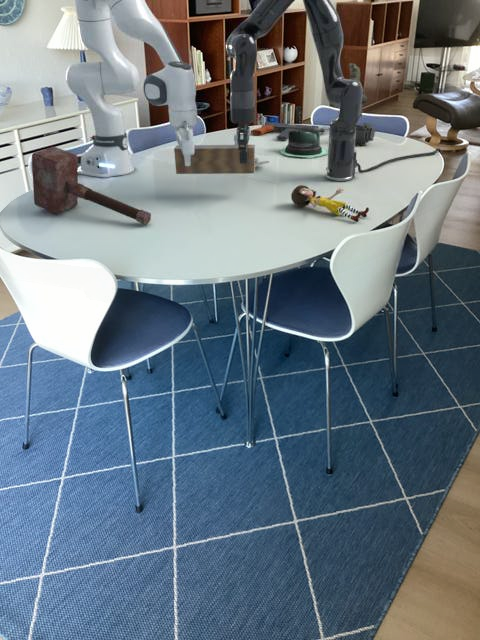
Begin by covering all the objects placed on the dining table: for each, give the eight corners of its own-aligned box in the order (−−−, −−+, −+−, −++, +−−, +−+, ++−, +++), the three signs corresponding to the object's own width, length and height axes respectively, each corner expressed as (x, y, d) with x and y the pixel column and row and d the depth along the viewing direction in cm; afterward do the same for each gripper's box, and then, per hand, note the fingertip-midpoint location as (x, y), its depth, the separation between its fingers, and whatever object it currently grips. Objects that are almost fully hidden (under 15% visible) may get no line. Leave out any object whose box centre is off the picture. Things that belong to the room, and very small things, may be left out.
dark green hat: (332, 145, 241) (326, 158, 224) (294, 164, 249) (286, 177, 233) (317, 113, 235) (310, 124, 219) (279, 133, 244) (269, 145, 228)
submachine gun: (244, 131, 261) (267, 121, 279) (244, 137, 262) (267, 127, 281) (306, 137, 247) (327, 126, 266) (306, 143, 248) (326, 132, 267)
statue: (367, 132, 266) (374, 63, 251) (349, 133, 264) (355, 64, 249) (357, 127, 275) (362, 61, 260) (339, 129, 273) (344, 62, 258)
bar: (176, 174, 181) (174, 148, 177) (178, 170, 185) (176, 145, 181) (254, 173, 179) (253, 148, 175) (254, 169, 183) (254, 144, 179)
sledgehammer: (159, 186, 162) (53, 145, 173) (139, 196, 154) (29, 152, 166) (154, 239, 172) (54, 196, 183) (135, 250, 164) (32, 205, 176)
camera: (240, 131, 219) (270, 136, 210) (241, 161, 225) (269, 168, 216) (225, 135, 213) (254, 141, 204) (226, 165, 219) (254, 172, 210)
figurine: (354, 211, 157) (283, 185, 169) (349, 235, 161) (280, 207, 174) (376, 199, 166) (307, 175, 178) (371, 222, 170) (303, 197, 182)
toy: (345, 120, 249) (377, 123, 242) (343, 139, 253) (375, 143, 246) (337, 123, 243) (369, 127, 236) (336, 143, 247) (367, 147, 240)
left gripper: (197, 124, 166) (200, 170, 173) (189, 112, 184) (192, 154, 191) (176, 125, 165) (180, 172, 172) (170, 113, 182) (173, 156, 190)
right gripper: (253, 109, 165) (254, 167, 174) (255, 101, 177) (256, 155, 186) (228, 110, 165) (230, 167, 174) (232, 101, 178) (234, 155, 186)
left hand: (186, 162), depth 182 cm, fingers closed on bar, 5 cm apart
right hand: (243, 160), depth 180 cm, fingers closed on bar, 4 cm apart
